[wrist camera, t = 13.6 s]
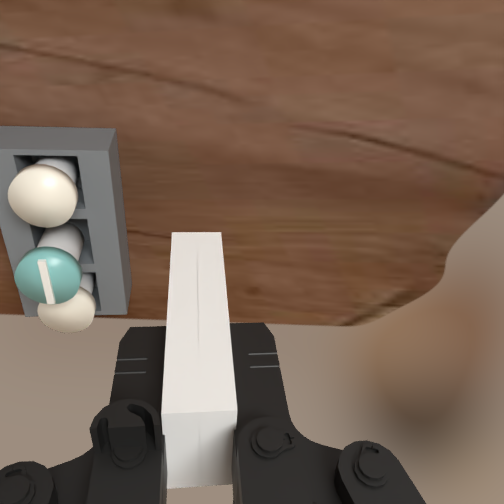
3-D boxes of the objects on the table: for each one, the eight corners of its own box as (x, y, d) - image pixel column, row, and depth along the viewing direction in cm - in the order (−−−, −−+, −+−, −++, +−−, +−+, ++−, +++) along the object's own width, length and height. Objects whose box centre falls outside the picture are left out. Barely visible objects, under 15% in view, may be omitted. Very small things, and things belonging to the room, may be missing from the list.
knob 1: (36, 190, 44) (15, 227, 39) (24, 138, 41) (0, 171, 36) (92, 191, 45) (79, 227, 40) (84, 140, 42) (69, 172, 37)
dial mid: (41, 260, 45) (20, 307, 40) (30, 214, 43) (6, 258, 37) (95, 259, 46) (82, 306, 41) (88, 214, 43) (73, 258, 38)
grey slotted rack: (38, 285, 52) (25, 316, 48) (-1, 125, 42) (-22, 148, 38) (131, 283, 54) (127, 314, 49) (115, 128, 43) (108, 150, 39)
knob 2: (58, 291, 51) (42, 333, 46) (49, 252, 48) (32, 293, 43) (106, 290, 52) (96, 332, 46) (100, 252, 49) (90, 292, 44)
